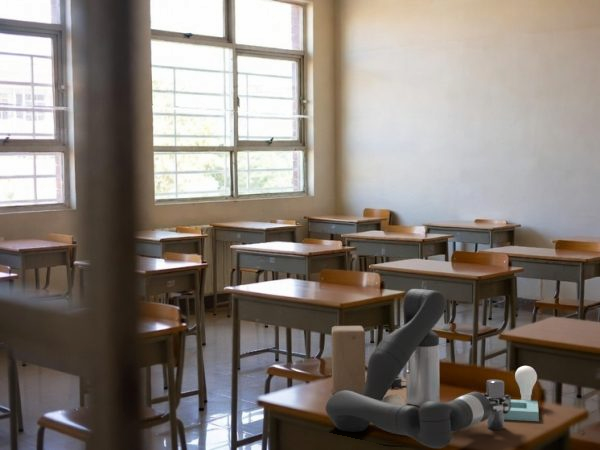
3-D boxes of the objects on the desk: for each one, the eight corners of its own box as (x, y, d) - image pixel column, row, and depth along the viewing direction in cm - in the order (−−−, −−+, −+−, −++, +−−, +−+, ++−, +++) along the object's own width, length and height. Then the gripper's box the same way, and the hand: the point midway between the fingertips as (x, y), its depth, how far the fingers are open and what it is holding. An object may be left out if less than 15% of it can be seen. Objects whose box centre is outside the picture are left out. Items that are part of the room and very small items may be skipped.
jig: (492, 418, 215) (492, 409, 215) (493, 407, 227) (493, 398, 227) (538, 421, 212) (538, 412, 212) (537, 409, 224) (537, 400, 224)
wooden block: (365, 395, 242) (365, 330, 241) (333, 396, 242) (332, 330, 241) (363, 388, 252) (363, 325, 251) (332, 388, 252) (331, 325, 251)
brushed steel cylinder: (486, 429, 206) (486, 383, 205) (486, 424, 210) (486, 379, 210) (504, 430, 205) (504, 383, 204) (504, 425, 209) (504, 380, 208)
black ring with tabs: (400, 391, 248) (400, 381, 248) (372, 387, 254) (372, 378, 254) (411, 386, 255) (411, 377, 255) (384, 382, 260) (384, 373, 260)
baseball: (407, 416, 219) (407, 392, 219) (404, 423, 212) (404, 398, 212) (382, 414, 221) (382, 391, 220) (379, 422, 213) (379, 397, 213)
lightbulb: (538, 406, 227) (537, 368, 226) (515, 406, 228) (515, 367, 228) (536, 401, 233) (535, 364, 232) (514, 400, 234) (514, 363, 234)
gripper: (443, 420, 201) (475, 407, 214) (495, 430, 191) (525, 416, 205) (443, 390, 200) (475, 379, 214) (495, 399, 191) (525, 386, 204)
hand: (499, 397), depth 209 cm, fingers closed on brushed steel cylinder, 4 cm apart
